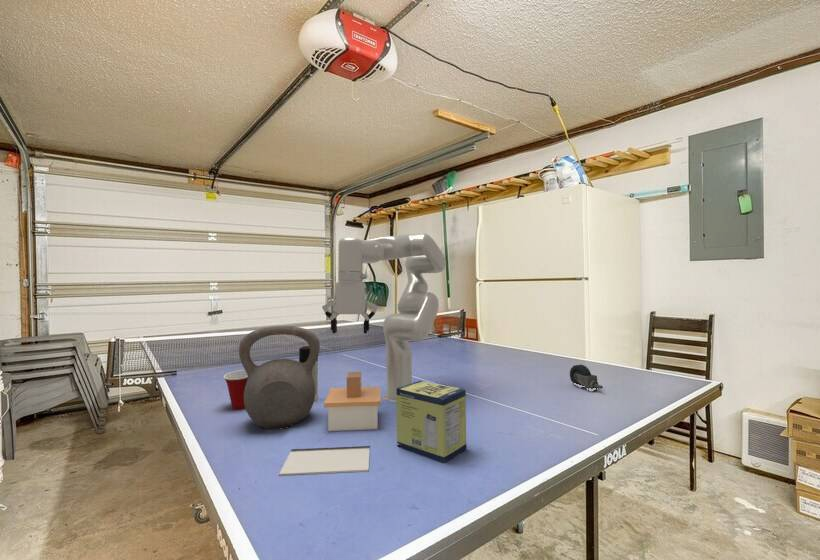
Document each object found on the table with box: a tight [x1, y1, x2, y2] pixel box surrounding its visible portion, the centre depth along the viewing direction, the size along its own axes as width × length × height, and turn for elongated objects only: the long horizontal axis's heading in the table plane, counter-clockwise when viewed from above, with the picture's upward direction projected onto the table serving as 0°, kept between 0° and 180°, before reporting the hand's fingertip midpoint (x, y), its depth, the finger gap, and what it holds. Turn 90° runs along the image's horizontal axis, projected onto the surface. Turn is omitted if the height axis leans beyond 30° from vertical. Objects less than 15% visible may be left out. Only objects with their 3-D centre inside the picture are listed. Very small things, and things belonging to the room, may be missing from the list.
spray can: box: [298, 345, 319, 402], centre depth 141 cm, size 7×7×20 cm
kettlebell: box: [238, 325, 321, 430], centre depth 120 cm, size 24×17×30 cm
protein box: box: [396, 380, 468, 464], centre depth 101 cm, size 10×16×16 cm
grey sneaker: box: [569, 364, 603, 390], centre depth 154 cm, size 6×10×15 cm
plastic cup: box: [223, 369, 248, 410], centre depth 136 cm, size 11×11×12 cm
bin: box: [327, 406, 379, 432], centre depth 118 cm, size 14×14×8 cm
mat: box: [278, 445, 371, 477], centre depth 98 cm, size 20×20×1 cm
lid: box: [323, 371, 382, 408], centre depth 118 cm, size 16×16×7 cm
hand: (350, 332), depth 120 cm, fingers open, 9 cm apart
